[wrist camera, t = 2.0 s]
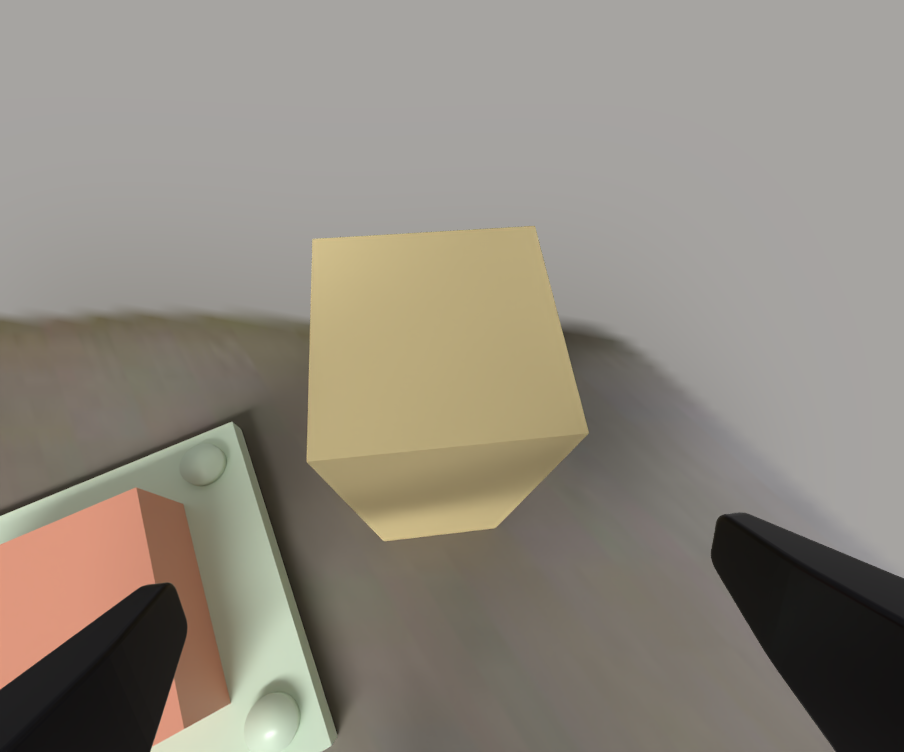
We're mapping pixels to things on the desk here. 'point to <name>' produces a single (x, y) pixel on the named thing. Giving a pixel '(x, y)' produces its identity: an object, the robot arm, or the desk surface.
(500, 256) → the tall brick
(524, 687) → the desk surface
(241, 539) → the baseplate
